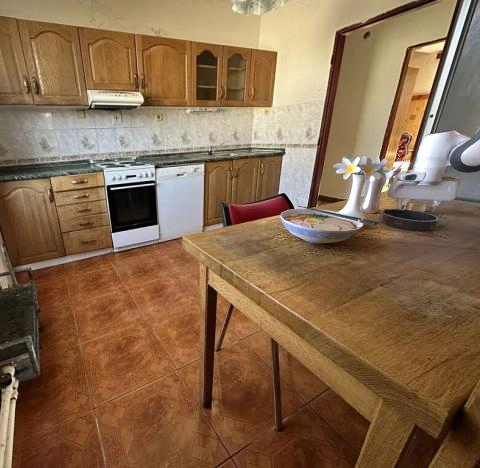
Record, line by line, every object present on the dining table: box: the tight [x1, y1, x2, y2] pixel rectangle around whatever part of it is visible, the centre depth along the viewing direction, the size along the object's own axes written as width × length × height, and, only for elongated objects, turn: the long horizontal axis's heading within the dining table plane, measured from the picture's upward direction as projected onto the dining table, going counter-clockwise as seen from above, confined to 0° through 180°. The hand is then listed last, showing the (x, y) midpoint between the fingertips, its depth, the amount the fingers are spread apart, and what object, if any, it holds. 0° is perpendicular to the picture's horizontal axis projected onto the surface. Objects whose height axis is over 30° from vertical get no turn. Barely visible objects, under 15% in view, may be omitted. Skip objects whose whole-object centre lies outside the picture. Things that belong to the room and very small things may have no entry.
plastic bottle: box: [360, 165, 387, 214], centre depth 105 cm, size 6×7×20 cm
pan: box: [378, 208, 440, 232], centre depth 93 cm, size 16×16×4 cm
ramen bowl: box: [279, 205, 380, 245], centre depth 82 cm, size 25×23×8 cm
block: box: [404, 201, 428, 213], centre depth 104 cm, size 4×4×4 cm
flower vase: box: [332, 154, 403, 225], centre depth 88 cm, size 13×18×25 cm
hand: (415, 210), depth 104 cm, fingers open, 8 cm apart
